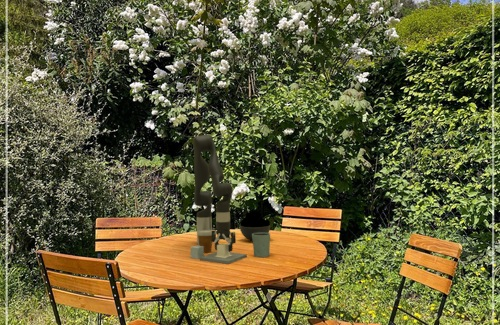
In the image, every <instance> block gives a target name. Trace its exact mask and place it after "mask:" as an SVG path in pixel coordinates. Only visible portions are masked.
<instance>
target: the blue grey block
mask: <svg viewBox="0 0 500 325" xmlns="http://www.w3.org/2000/svg"><path fill="white" fill-rule="evenodd" d="M204 254H205V253H204V246H199V245H193V246H190V259H194V260H195V259H196V260H200V257H203V256H205V255H204Z"/></svg>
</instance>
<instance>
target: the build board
mask: <svg viewBox="0 0 500 325" xmlns="http://www.w3.org/2000/svg"><path fill="white" fill-rule="evenodd" d="M247 255H248V254H246V253H238V252H232V251H231V252H230V255H229V256H227V257H220V256H217V251H214V252H213V253H212V252H211V253H209V254H206V255H204V256H203V257H200V259H199V261H204V262H209V263H216V264H225V265H229V264H232V263H235V262H238V261H241V260H243V259H246V258H248V256H247Z"/></svg>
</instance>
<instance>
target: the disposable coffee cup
mask: <svg viewBox="0 0 500 325" xmlns="http://www.w3.org/2000/svg"><path fill="white" fill-rule="evenodd" d="M197 234H198V239H199V245H198V246H204V254H208V253H209V254H210V253H212V247H213V246H212V245H213V243H212V241H211V238H212V230H200V231H198V233H197V232H196V235H197Z"/></svg>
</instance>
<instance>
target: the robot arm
mask: <svg viewBox="0 0 500 325" xmlns="http://www.w3.org/2000/svg"><path fill="white" fill-rule="evenodd" d="M193 152H194V153H193V157H194V171H193V172H194V173H193V175H194V194H193V196H194V197H193V203H194V205H195V206H196V207H205V208H203V209H202V210H200V211H198V212H196V246H199V239H198V234H197V233H198V231H200V230H212V238H211V241H212V244H214V250H215V251H217V245H218V244H220V240H224V241H226V242H227V244H229V245H228V251H229V252H232V251H233V247H234V246H233V245H234V244H236V241H237V240H236V238H237V237H236V232H235V231H231V213H230V210H231V209H230V204H231V200H232V196H233V193H234V192H233V186H232V184H231V183H229V182H224V183H223V182H222V181H223V180H224V179H225V174H224V171H223V170H222V167H221V165H220V160H219V156H218V152H217V149H216V144H215V141H214V139H213V136H212V135H211V134H210V133H207V134H201V135H196V136H195V137H193ZM202 152H203V153H204V152H210V157H209V158H210V159H209V161H208V162H207V161H206V160H205V159H204V158H203V157H202V155H201V154H202ZM210 178H211V179H210ZM209 180H211V184H212V186H211V187H212V192H211V191H210V190H203V191H202V188H203V187H204V186H205V185H206V184H207V182H208V181H209ZM212 193H213V194H214V196H215V197H217V198H219V197H220V198H221V197H222V199H220V200H219V201H217V202H216V203H215V204H216V206H215V207H216V215H215V220H216V221H215V226H216V227H215V229H214V230H213V227H212V225H213V224H212V223H213V222H212V221H213V220H212V203H213V202H212Z"/></svg>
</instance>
